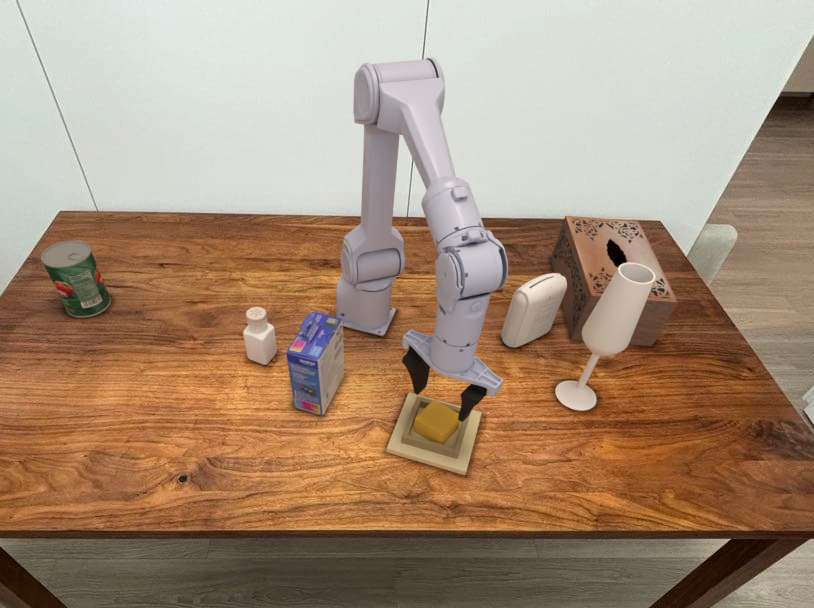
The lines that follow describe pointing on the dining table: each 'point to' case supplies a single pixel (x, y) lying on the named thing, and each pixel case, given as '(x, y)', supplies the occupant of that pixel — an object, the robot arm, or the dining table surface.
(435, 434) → the mustard block
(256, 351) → the pepper shaker
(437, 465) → the base pad
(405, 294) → the dining table surface
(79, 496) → the dining table surface
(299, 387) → the ink cartridge box
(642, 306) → the champagne flute
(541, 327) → the photo printer
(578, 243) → the tissue box cover
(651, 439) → the dining table surface
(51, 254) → the canned tomato
